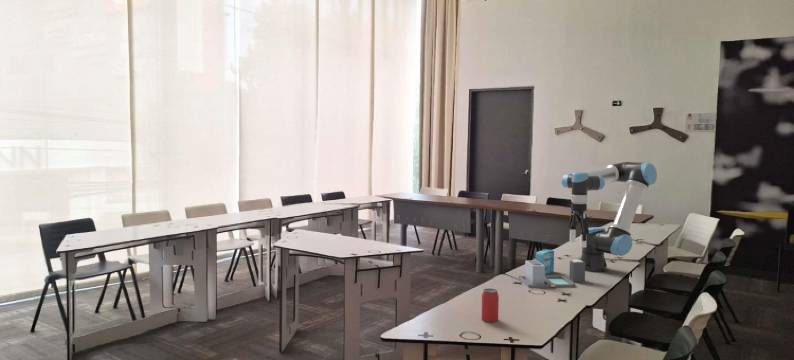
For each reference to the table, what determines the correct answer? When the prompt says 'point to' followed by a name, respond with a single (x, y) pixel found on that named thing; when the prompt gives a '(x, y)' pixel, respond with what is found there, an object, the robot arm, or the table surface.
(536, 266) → the block
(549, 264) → the data package
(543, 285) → the grey flat panel
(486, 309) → the beer can
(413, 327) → the table surface
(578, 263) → the plug
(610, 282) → the table surface
